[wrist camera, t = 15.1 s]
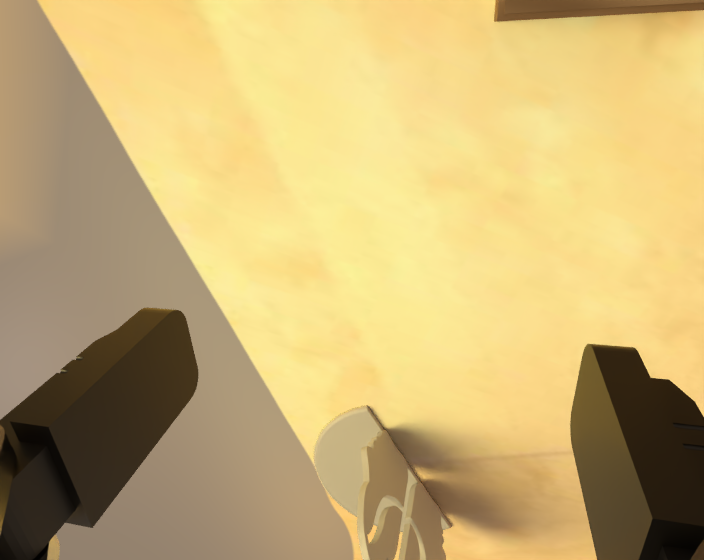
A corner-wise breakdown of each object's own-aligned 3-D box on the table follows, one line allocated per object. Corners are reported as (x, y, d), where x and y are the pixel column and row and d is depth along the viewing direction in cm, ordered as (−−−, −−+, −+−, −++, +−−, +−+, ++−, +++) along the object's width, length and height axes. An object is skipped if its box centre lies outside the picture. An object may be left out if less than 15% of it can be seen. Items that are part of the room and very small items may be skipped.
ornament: (453, 525, 65) (446, 671, 50) (369, 542, 70) (340, 677, 56) (368, 403, 58) (332, 528, 44) (282, 431, 64) (225, 552, 49)
